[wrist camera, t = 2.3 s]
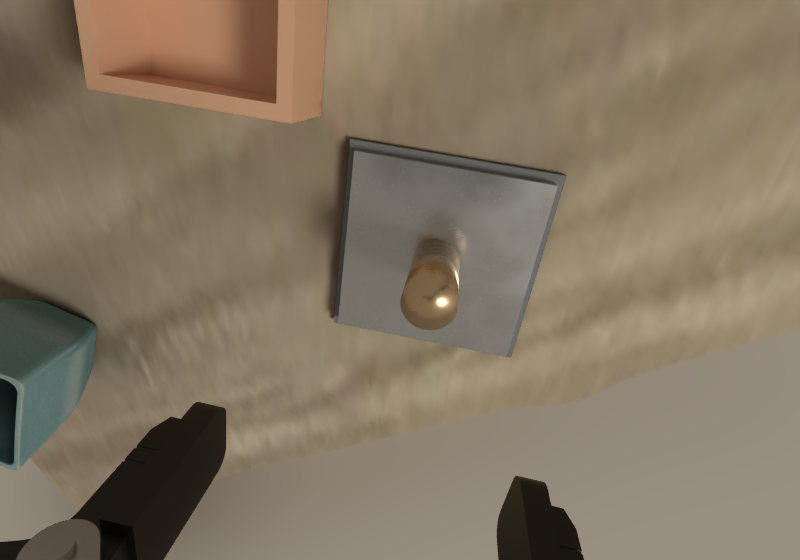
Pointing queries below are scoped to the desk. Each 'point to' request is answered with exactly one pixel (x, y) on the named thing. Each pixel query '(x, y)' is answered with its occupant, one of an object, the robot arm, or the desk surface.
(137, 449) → the robot arm
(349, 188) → the mat
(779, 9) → the desk surface
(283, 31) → the open box
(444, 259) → the lid
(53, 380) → the flower pot
